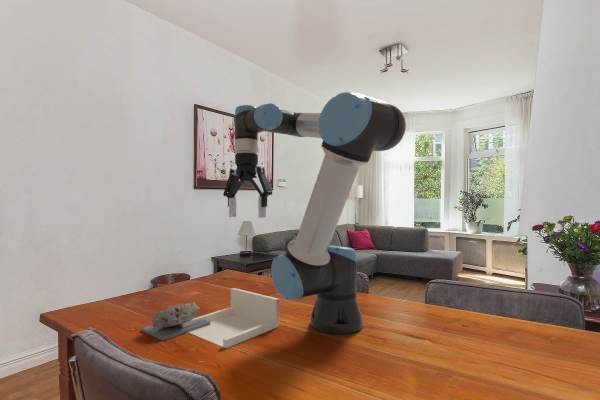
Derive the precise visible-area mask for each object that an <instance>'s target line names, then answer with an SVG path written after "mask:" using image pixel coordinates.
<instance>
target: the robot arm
mask: <svg viewBox="0 0 600 400" xmlns="http://www.w3.org/2000/svg"><path fill="white" fill-rule="evenodd" d="M233 121H234V152H235V154H234V165H235V166H236V168H230V169H229V175H228V178H227V181H226V185H225V188H224V190H223V193H222V195H223V197H226V198H227V207H228V218H237V197H236V195H237V193H238V192H239V189H240V188H241V186H242V185H243V183H245V182H246V183H247V182H250V183H252V185H253V187H254V188H255V189H256V191H257V193H258V194H259V196H258V200H257V201H258V202H257V205H258V206H257V207H258V208H257V209H258V211H257V213H258V218H260V219H261V218H263V219H265V218H267V207H268V196H272V195H273V190H272V188H271V185H270V183H269V180H268V178H267V176H266V171H265V170H266V169H265V166H259V154H257V153H258V152H259V151H258V146H259V145H258V142H259V137H258V136H259V133H263V132H268V133H275V134H282V135H288V136H293V137H298V138H317V139H321V140H322V143H321V145H320V147H321V148H322V151H323V152H324V157H323V159H322V163H321V166H320V169H319V171H318V174H317V177H316V179H315V180H316V181H315V183H314V185H313V189H312V192H311V194H310V198H309V200H308V203H307V206H306V209H305V212H304V215H303V218H302V220H301V224H300V226H299V229H298V232H297V234H296V238H293V239H292V240H290V241H288V244H287V246H286V249H285V253H284V254H279V255H278V256H275V257H274V258H273V260H272V263H271V265H270V266H271V268H270V272H271V273H270V274H271V280H272V284H273V286H274V288H275V290H276V292H277V294H279V296H281V297H282V298H283V299H285V300H300V299H303V298H307V297H310V296H311V297H312V296H315V295H316V298H315V303H314V304H313V305H314V306H313V309H312V311H311V314H310V325H311V327H312V328H313V329H314V330H317V331H319V332H323V333H327V334H336V335H341V334H342V335H343V334H345V335H346V334H352V333H355V332H358V331H360V330H361V329H362V328H363V327H364V326H363V324H364V323H363V316H362V313H361V308H360V306H359V301H358V299H357V297H358V296H357V291H358V290H357V289H358V288H357V287H358V286H357V285H358V284H357V281H358V280H357V276H358V275H357V274H358V271H357V270H358V269H357V268H358V267H357V266H358V260H357V251H356V250H355V249H354V248H352V247H346V246H339V245H332V244H331V241H332V239H333V238H334V237H333V236H334V234H335V232H336V229H337V226H338V223H339V221H340V218H341V216H342V213H343V211H344V209H345V208H344V207H345V205H346V204H347V203H346V202H347V201H348V198H349V195H350V192H351V191H352V188H353V185H354V182H355V179H356V177H357V175H358V171H359V168H360V167H362V166H363V165H366V164H368V163H369V161H370V159H371V157H372V154H373V153H374V152H385V151H389V150H391V149H393V148H394V147H396V146H397V145H398V144H399V143H400V142H401V141H402V140H403V138H404V135H405V133H406V132H405V131H406V128H407V127H406V118H405V116H404V113H402V110H401V109H399V108H398V106H396V105H395V104H392V103H390V102H387V101H383V100H379V99H376V98H374V97H369V96H366V95H364V94H360V93H356V92H355V93H354V92H350V91H349V92H348V91H345V92H340V93H337V94H336V96H333V97H331V98H330V99H329V100H328V101H327V102H326V103H325V105H324V106H323V108H322V109H321V112H293V111H289V110H285V109H281V108H280V107H279V106H278V105H276V103H272V102H271V103H270V102H269V103H264V104H261V105H260V106H258V107H256V106H255V105H251V104H243V105H238V106H236V107H235V110H234V120H233ZM330 244H331V245H330Z"/></svg>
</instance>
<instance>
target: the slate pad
mask: <svg viewBox="0 0 600 400" xmlns="http://www.w3.org/2000/svg"><path fill="white" fill-rule="evenodd" d="M197 317H198V316H196V315H195V316H194V317H192V318H189V319H188V320H190V319H193V318H197ZM185 321H187V320H185ZM152 325H153V324H151V325H147V326H144V327H141V332H142V333H144V334H145V333H146V335H150V336H152V337H153V338H156V339H158V340H159V341H165V340H170V339H171V338H174V337H178V336H181V335H184V334H186V333H188V332H190V331H193V330H196V329H199V328H202V327H205V326H208V325H210V322H209V321H206V320H205V321H202V322H199V323H196V324H193V325H189V326H186V327H181V324H178V325H174V326H170V327H160V328H159V327H153V326H152Z"/></svg>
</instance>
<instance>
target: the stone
mask: <svg viewBox="0 0 600 400" xmlns="http://www.w3.org/2000/svg"><path fill="white" fill-rule="evenodd" d="M200 309H201V308H200V307H199V306H198V305H197V304H196V302H193V301H192V302H187V303H183V304H175V305H172V306H170V307H169V308H167V309H165V310H160V311H155V312H154V313H153V315H152V316H153V317H152V322H151V323H152V324H151V325H152V326H153V327H159V328H160V327H170V326H174V325H178V324H181V323H182V322H184V321H185V320H188V319H189V318H192V317H194V316H195V317H196V315H197V314H198V313H199V311H200Z"/></svg>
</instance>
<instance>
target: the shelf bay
mask: <svg viewBox="0 0 600 400" xmlns="http://www.w3.org/2000/svg"><path fill="white" fill-rule="evenodd" d="M196 317H197V318H193V319H190V320H187V321H184V322H182V323H181V327H186V326H189V325H193V324H196V323H199V322H202V321H205V320H206V321H209V322H210V325H208V326H205V327H202V328H199V329H196V330H193V331H190V332H187V333H188V334H190V335H193V336H195V337H198V338H200V339H202V340H205V341H207V342H210V343H212V344H213V345H217V346H219V347H222V348H224V349H229V348H231V347H234V346H236V345H238V344H241V343H242V342H245V341H248V340H250V339H252V338H254V337H255V338H256V337H258V336H260V335H262V334H265V333H268V332H269V331H272V330H275V329H277V328H279V327H280V298H277V297H273V296H268V295H264V294H261V293H256V292H252V291H249V290H244V289H239V288H235V287H231V288H230V307H227V308H224V309H220V310H217V311H213V312H210V313H206V314H204V315H201V316H196Z"/></svg>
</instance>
